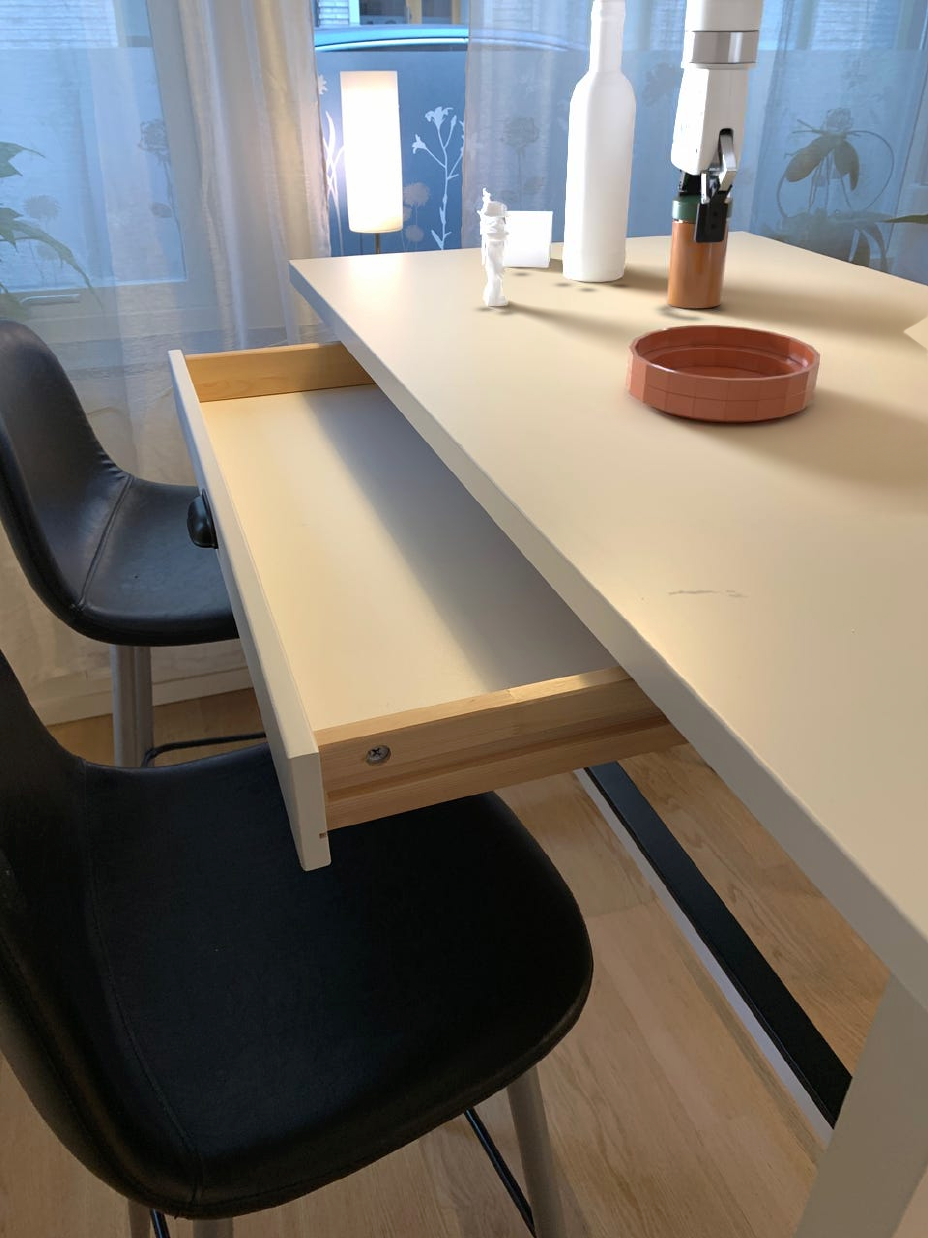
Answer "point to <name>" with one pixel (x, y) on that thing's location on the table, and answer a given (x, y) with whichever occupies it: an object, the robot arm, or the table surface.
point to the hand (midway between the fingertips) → (698, 233)
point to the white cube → (528, 239)
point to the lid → (691, 207)
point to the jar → (695, 268)
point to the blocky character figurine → (494, 248)
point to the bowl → (722, 372)
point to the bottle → (600, 156)
